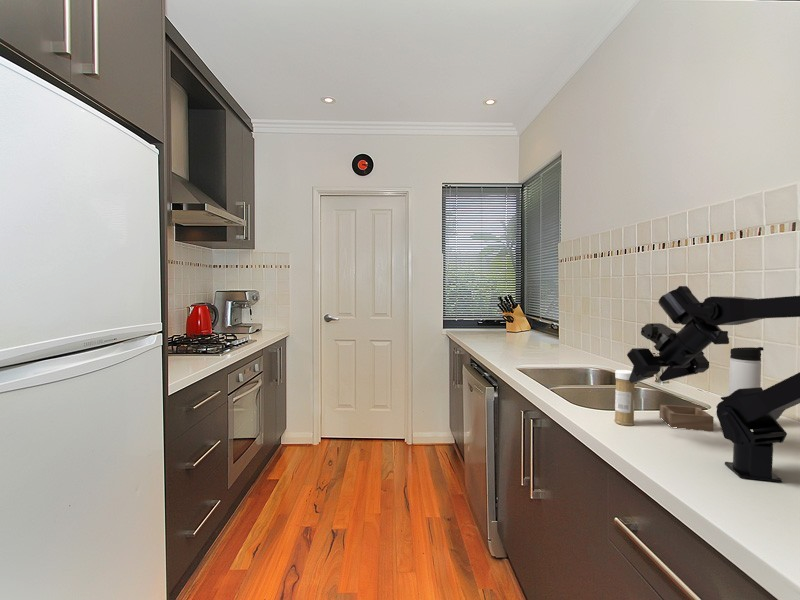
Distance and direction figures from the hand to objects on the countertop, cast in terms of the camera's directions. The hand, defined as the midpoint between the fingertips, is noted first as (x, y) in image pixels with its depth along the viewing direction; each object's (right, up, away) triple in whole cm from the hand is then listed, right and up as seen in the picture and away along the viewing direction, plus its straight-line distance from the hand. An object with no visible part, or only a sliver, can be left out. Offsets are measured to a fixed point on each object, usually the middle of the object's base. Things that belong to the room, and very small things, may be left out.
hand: (645, 380), depth 103 cm
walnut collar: (+14, -12, +6) cm, 19 cm away
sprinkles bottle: (-2, -12, +6) cm, 14 cm away
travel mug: (+29, -13, +7) cm, 33 cm away
